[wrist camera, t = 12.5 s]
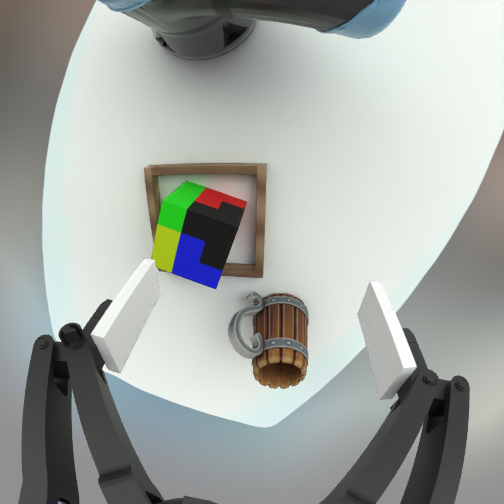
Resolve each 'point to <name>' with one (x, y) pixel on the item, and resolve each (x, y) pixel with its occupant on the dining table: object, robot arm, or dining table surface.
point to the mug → (274, 339)
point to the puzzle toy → (196, 232)
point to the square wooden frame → (214, 168)
